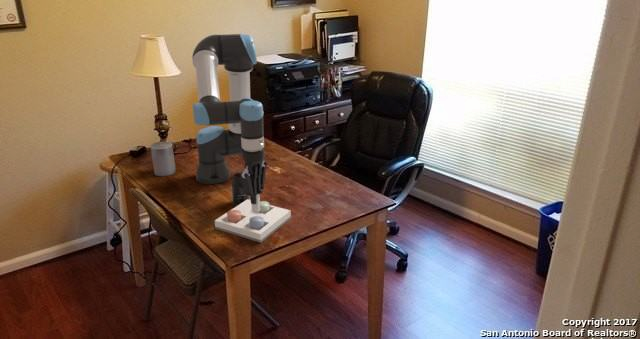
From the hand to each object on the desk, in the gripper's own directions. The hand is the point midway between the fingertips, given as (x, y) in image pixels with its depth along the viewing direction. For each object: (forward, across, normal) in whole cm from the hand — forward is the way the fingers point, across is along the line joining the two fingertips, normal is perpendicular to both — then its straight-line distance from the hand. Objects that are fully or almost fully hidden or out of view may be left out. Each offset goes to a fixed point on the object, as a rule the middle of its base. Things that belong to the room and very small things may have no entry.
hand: (256, 210), depth 164 cm
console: (+9, +5, +5) cm, 11 cm away
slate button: (+7, 0, 0) cm, 7 cm away
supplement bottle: (+9, +17, +20) cm, 27 cm away
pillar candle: (+10, +25, +70) cm, 75 cm away
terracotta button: (+8, 0, +10) cm, 12 cm away
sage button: (+8, +11, +5) cm, 14 cm away
